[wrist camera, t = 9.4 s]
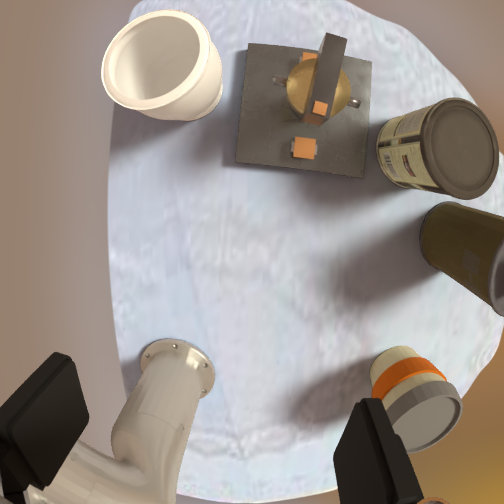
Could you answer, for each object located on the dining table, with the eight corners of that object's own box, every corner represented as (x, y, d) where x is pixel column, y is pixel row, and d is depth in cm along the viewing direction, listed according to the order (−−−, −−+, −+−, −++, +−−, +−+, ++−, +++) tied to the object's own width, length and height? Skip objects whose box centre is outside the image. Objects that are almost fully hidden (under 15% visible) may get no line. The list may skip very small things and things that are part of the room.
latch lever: (363, 74, 26) (387, 52, 20) (349, 139, 29) (371, 132, 22) (281, 49, 26) (284, 20, 20) (263, 115, 28) (262, 100, 22)
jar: (175, 143, 38) (127, 132, 24) (142, 85, 36) (86, 53, 22) (245, 101, 37) (232, 65, 22) (207, 44, 34) (179, -10, 20)
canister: (411, 216, 39) (500, 255, 20) (464, 191, 38) (559, 213, 18) (428, 282, 42) (504, 348, 22) (477, 255, 40) (560, 302, 21)
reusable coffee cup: (424, 325, 44) (468, 378, 29) (426, 379, 46) (459, 434, 32) (354, 351, 45) (380, 416, 31) (364, 403, 48) (384, 465, 34)
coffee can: (449, 149, 36) (511, 147, 23) (414, 203, 39) (471, 221, 25) (399, 100, 35) (452, 77, 22) (360, 155, 38) (405, 151, 24)
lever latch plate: (358, 177, 38) (382, 181, 30) (236, 162, 39) (227, 160, 30) (367, 66, 34) (390, 43, 25) (249, 48, 34) (244, 20, 26)
